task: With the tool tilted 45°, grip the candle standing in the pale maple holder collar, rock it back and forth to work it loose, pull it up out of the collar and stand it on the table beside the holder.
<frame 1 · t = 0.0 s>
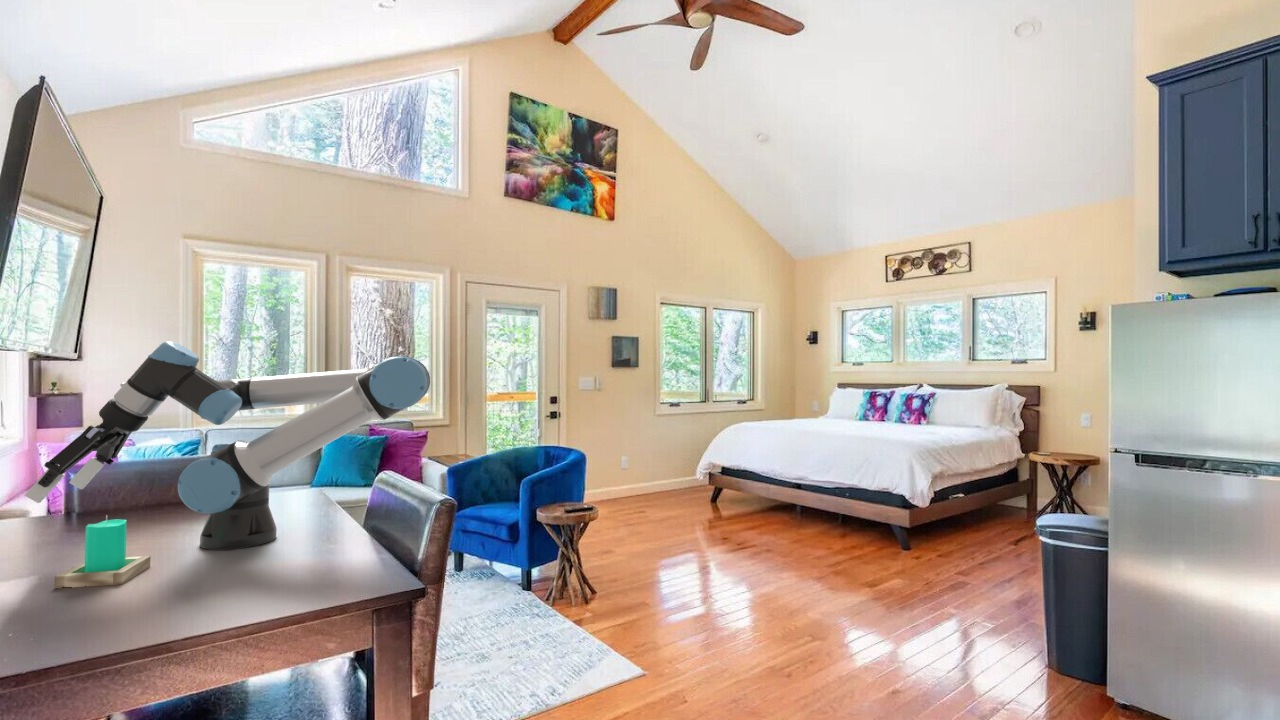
hand: (55, 492, 124), 15 cm above the table, tool tilted 35°, fingers open, 13 cm apart
candle: (104, 578, 119), resting in holder collar
holder collar: (104, 577, 119), on the table
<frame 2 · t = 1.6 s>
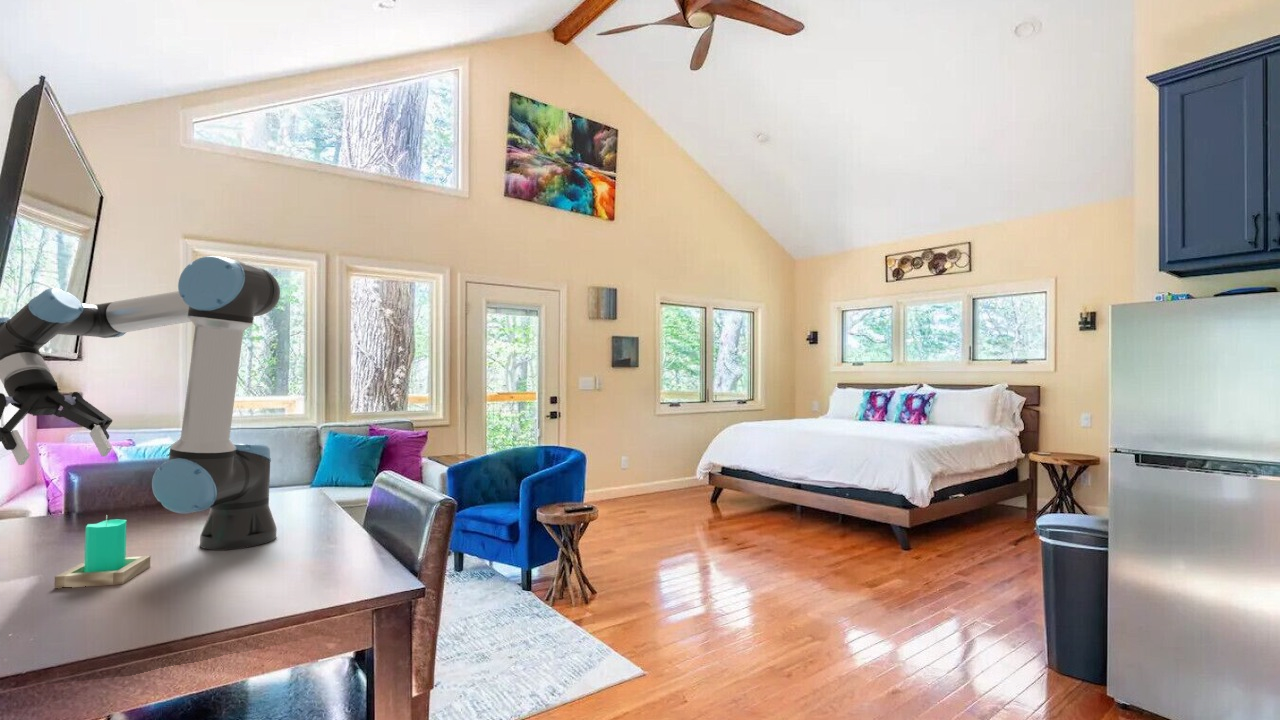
hand: (68, 456, 123), 23 cm above the table, tool tilted 45°, fingers open, 13 cm apart
nothing on the table moved.
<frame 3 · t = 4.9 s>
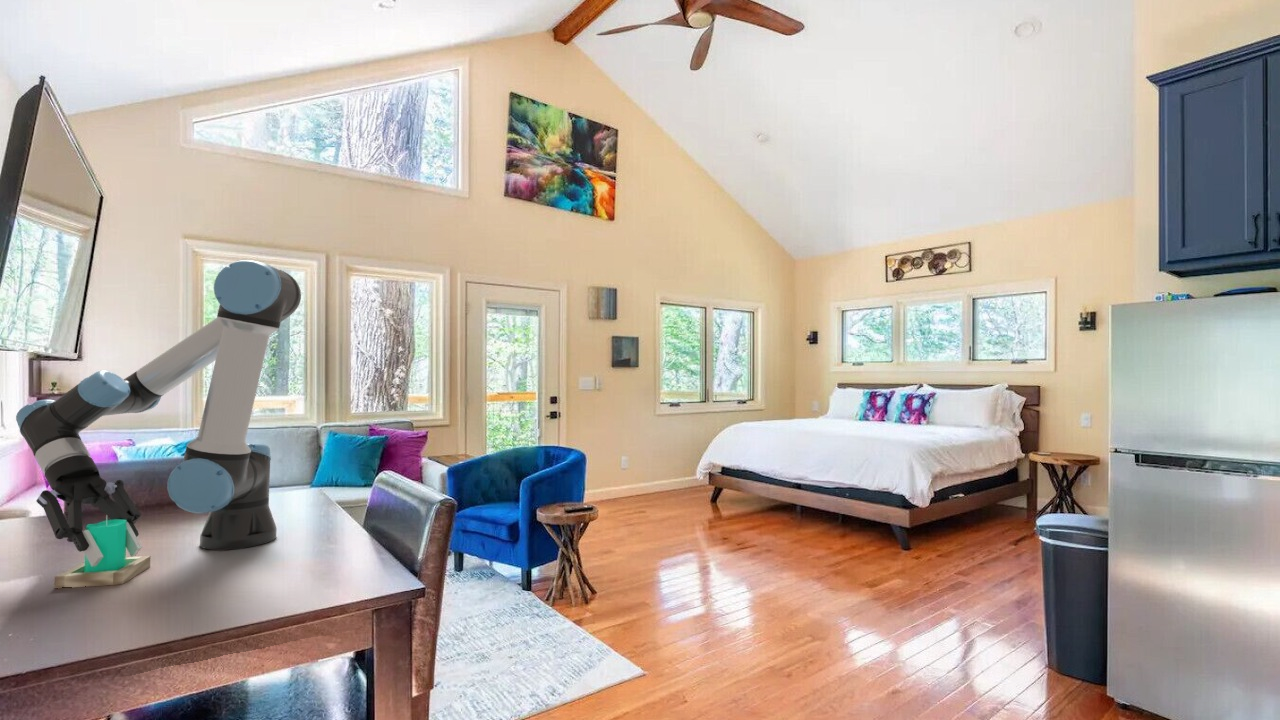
hand: (117, 556, 117), 4 cm above the table, tool tilted 45°, fingers closed on candle, 6 cm apart
candle: (105, 578, 119), resting in holder collar, touching gripper
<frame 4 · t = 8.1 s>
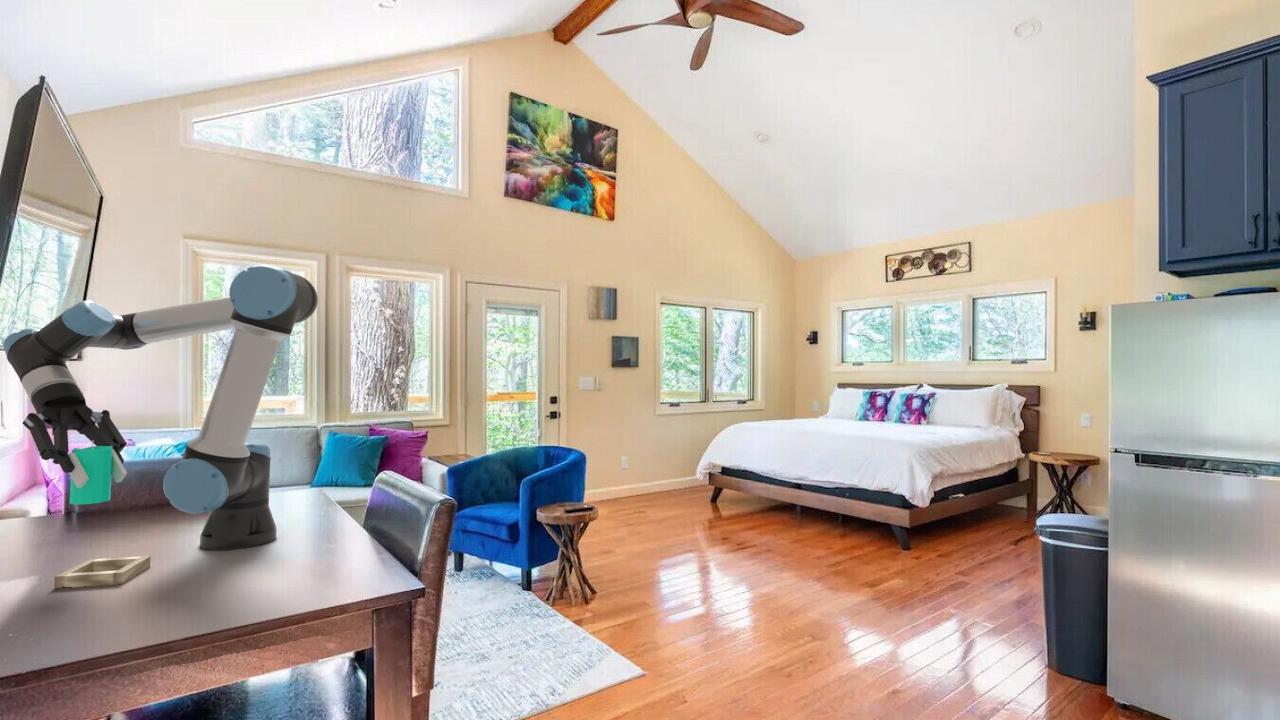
hand: (102, 480, 119), 19 cm above the table, tool tilted 45°, fingers closed on candle, 6 cm apart
candle: (90, 502, 120), point 14 cm above the table, touching gripper
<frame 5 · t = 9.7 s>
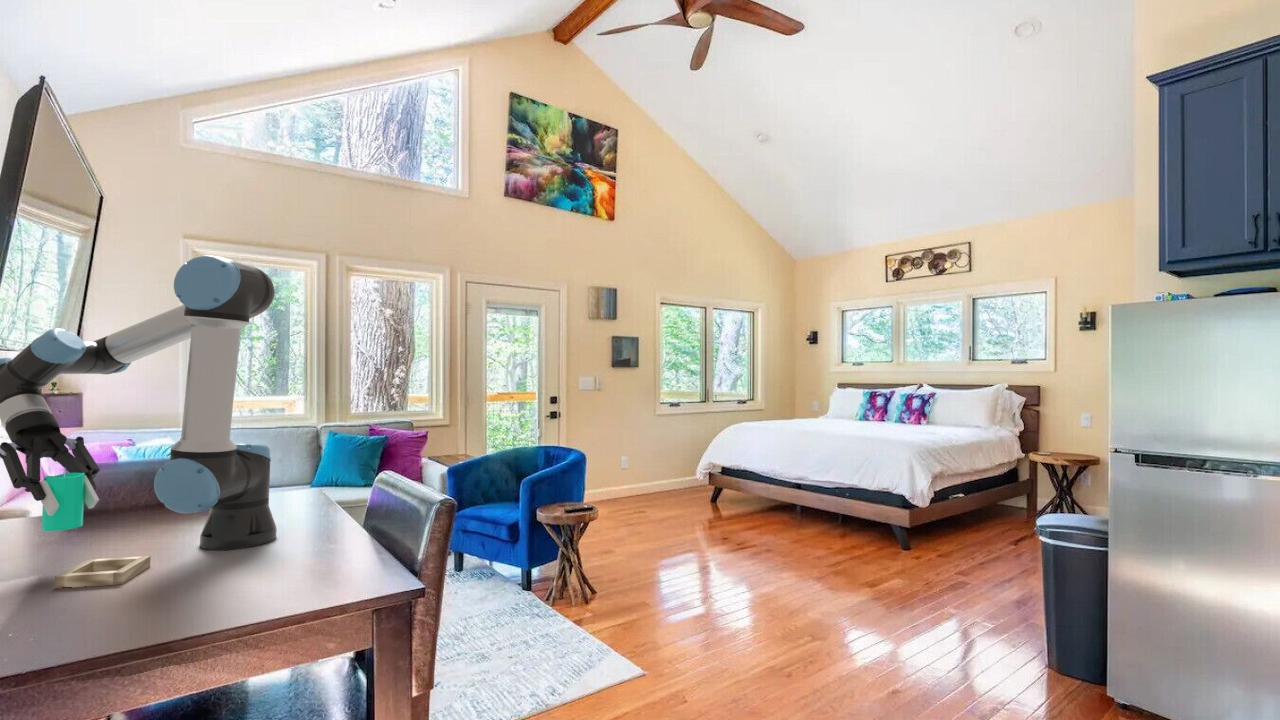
hand: (74, 507, 122), 13 cm above the table, tool tilted 45°, fingers closed on candle, 6 cm apart
candle: (62, 528, 123), point 8 cm above the table, touching gripper
when the fingers open (6 cm above the table, at t = 11.3 s): candle drops 1 cm, on the table.
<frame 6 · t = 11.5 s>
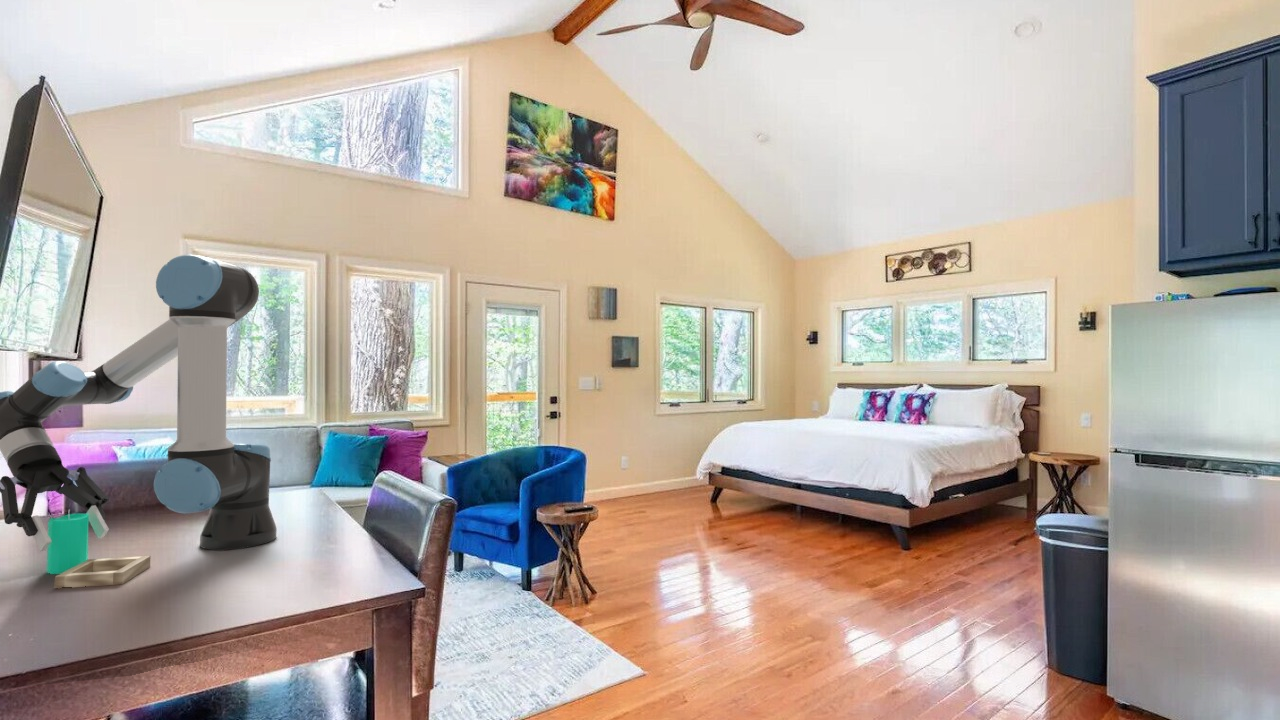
hand: (76, 539, 122), 6 cm above the table, tool tilted 45°, fingers open, 9 cm apart
candle: (67, 570, 123), on the table
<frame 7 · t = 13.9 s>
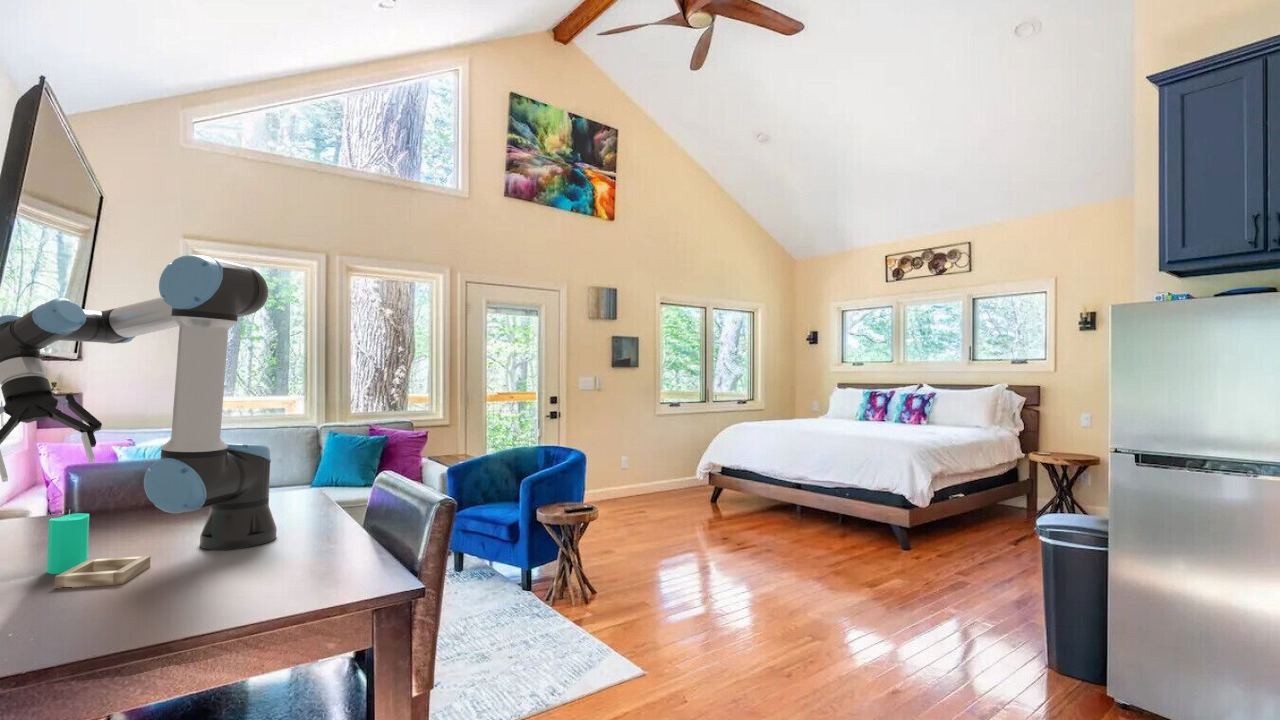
hand: (50, 469, 131), 19 cm above the table, tool tilted 30°, fingers open, 13 cm apart
nothing on the table moved.
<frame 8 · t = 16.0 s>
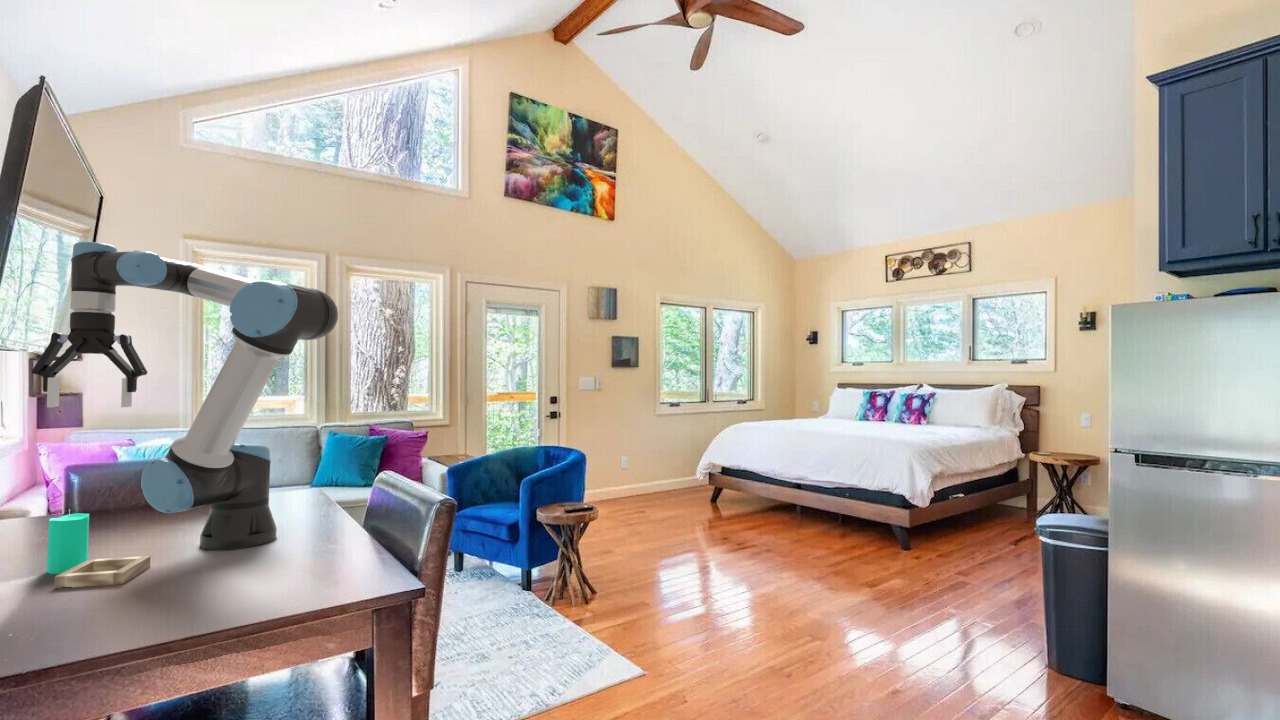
hand: (90, 407, 136), 32 cm above the table, tool pointing down, fingers open, 13 cm apart
nothing on the table moved.
at the end: candle moved 12.1 cm from its start; candle tilted 0°; candle on the table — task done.
